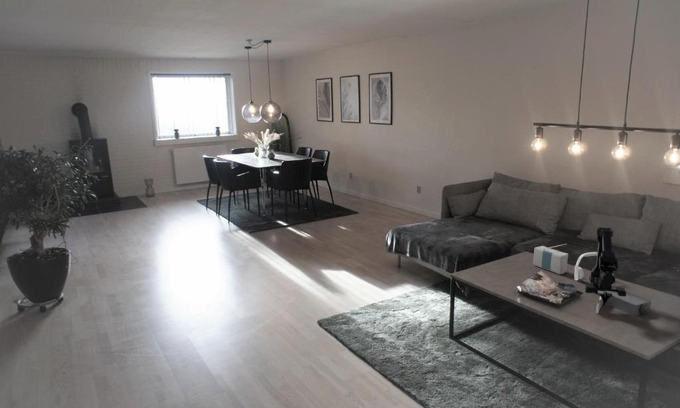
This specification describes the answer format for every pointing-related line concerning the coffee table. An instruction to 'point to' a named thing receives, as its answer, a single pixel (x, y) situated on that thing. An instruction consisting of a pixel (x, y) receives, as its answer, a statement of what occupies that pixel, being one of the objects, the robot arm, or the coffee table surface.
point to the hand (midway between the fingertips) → (603, 305)
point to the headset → (578, 270)
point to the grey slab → (629, 303)
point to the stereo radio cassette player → (550, 259)
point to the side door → (598, 305)
